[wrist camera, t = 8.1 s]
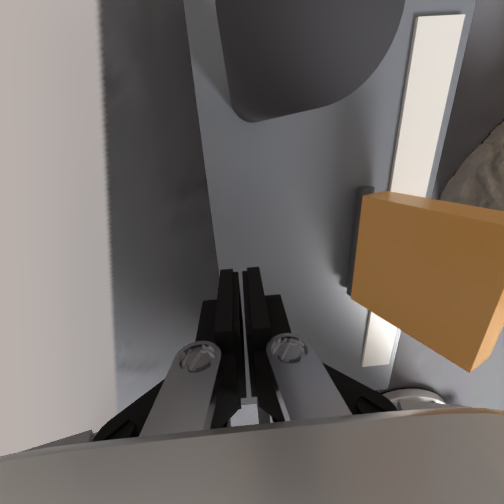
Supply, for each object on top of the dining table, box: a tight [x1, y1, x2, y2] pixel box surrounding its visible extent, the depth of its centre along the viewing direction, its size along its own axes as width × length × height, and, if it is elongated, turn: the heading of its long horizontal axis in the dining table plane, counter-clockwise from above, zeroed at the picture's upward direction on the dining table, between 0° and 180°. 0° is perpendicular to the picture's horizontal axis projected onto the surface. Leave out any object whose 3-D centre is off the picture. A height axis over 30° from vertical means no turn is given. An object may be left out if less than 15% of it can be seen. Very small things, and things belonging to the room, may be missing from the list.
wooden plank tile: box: [346, 186, 504, 373], centre depth 12 cm, size 2×6×7 cm, turn 1°
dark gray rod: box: [215, 0, 405, 123], centre depth 7 cm, size 2×2×10 cm
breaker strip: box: [183, 0, 476, 405], centre depth 17 cm, size 12×26×6 cm, turn 3°
